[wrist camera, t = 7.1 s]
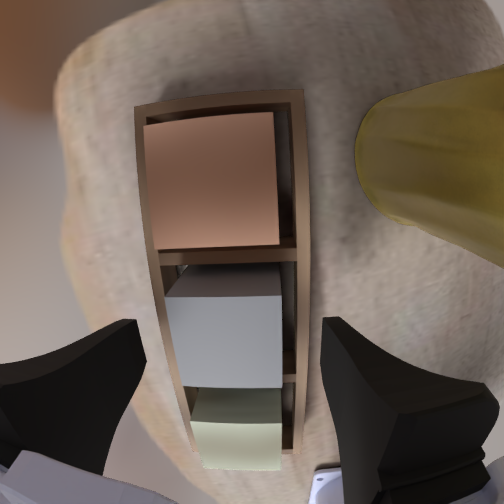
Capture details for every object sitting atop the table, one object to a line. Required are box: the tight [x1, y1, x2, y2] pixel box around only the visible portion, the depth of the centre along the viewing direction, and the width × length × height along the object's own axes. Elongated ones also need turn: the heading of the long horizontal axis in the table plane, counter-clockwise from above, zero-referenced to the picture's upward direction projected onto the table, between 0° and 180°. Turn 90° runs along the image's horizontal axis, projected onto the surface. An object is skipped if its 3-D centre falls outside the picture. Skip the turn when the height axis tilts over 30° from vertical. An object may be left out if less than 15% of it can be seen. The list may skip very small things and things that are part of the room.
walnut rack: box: [134, 89, 310, 471], centre depth 13 cm, size 18×6×4 cm, turn 3°
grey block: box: [164, 262, 282, 388], centre depth 13 cm, size 4×4×4 cm
